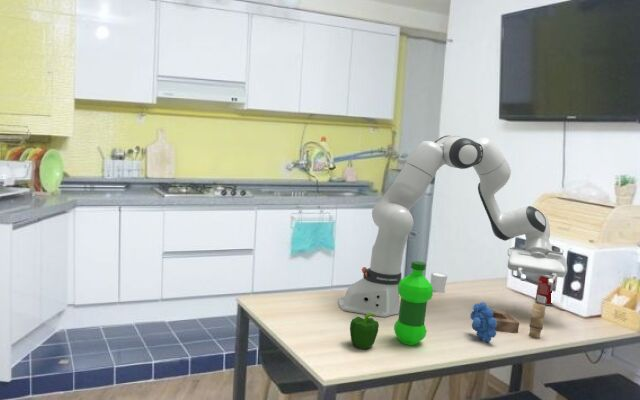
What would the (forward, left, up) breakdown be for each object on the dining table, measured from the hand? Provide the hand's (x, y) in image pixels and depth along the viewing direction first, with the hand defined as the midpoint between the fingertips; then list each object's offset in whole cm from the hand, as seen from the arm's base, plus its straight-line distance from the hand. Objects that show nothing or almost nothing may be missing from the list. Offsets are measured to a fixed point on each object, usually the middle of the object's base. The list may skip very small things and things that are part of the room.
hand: (536, 282), depth 196 cm
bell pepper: (-64, -35, -16) cm, 75 cm away
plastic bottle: (-49, -28, -16) cm, 59 cm away
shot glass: (-26, +34, -16) cm, 46 cm away
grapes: (-25, -20, -16) cm, 36 cm away
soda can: (+18, +30, -16) cm, 38 cm away
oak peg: (-3, -12, -16) cm, 20 cm away
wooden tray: (-14, -4, -16) cm, 22 cm away
